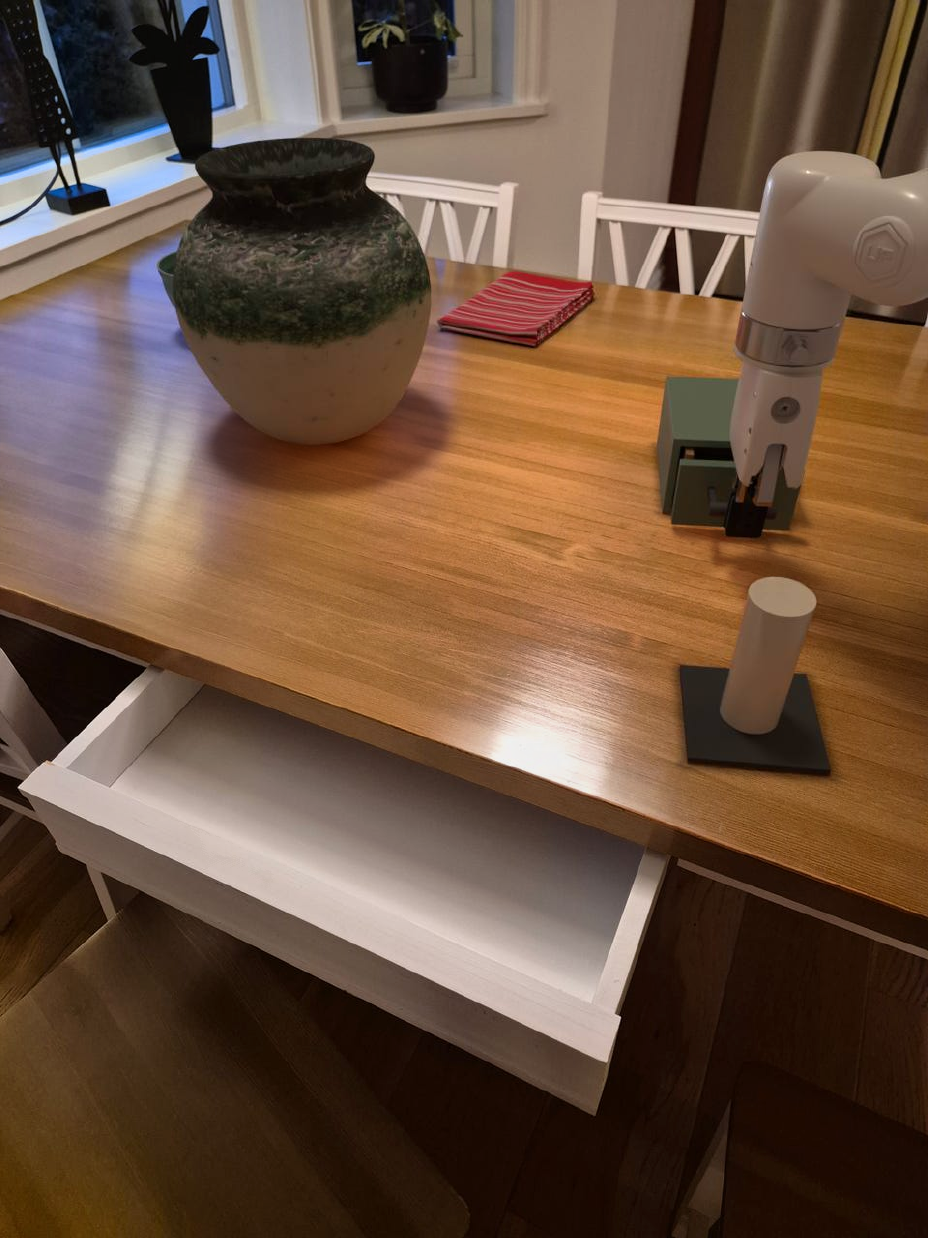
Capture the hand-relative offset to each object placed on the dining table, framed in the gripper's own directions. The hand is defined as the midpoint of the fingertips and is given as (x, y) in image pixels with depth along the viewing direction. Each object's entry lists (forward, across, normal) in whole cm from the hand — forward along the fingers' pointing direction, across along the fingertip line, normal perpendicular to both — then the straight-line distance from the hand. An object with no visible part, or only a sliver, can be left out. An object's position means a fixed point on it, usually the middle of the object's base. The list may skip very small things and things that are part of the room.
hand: (741, 532), depth 76 cm
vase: (+5, +26, +47) cm, 54 cm away
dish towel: (+5, +66, +26) cm, 71 cm away
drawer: (+3, +10, 0) cm, 11 cm away
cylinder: (+4, -20, +1) cm, 20 cm away
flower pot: (+5, +55, +70) cm, 89 cm away
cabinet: (+4, +16, 0) cm, 17 cm away
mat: (+4, -20, +1) cm, 20 cm away
